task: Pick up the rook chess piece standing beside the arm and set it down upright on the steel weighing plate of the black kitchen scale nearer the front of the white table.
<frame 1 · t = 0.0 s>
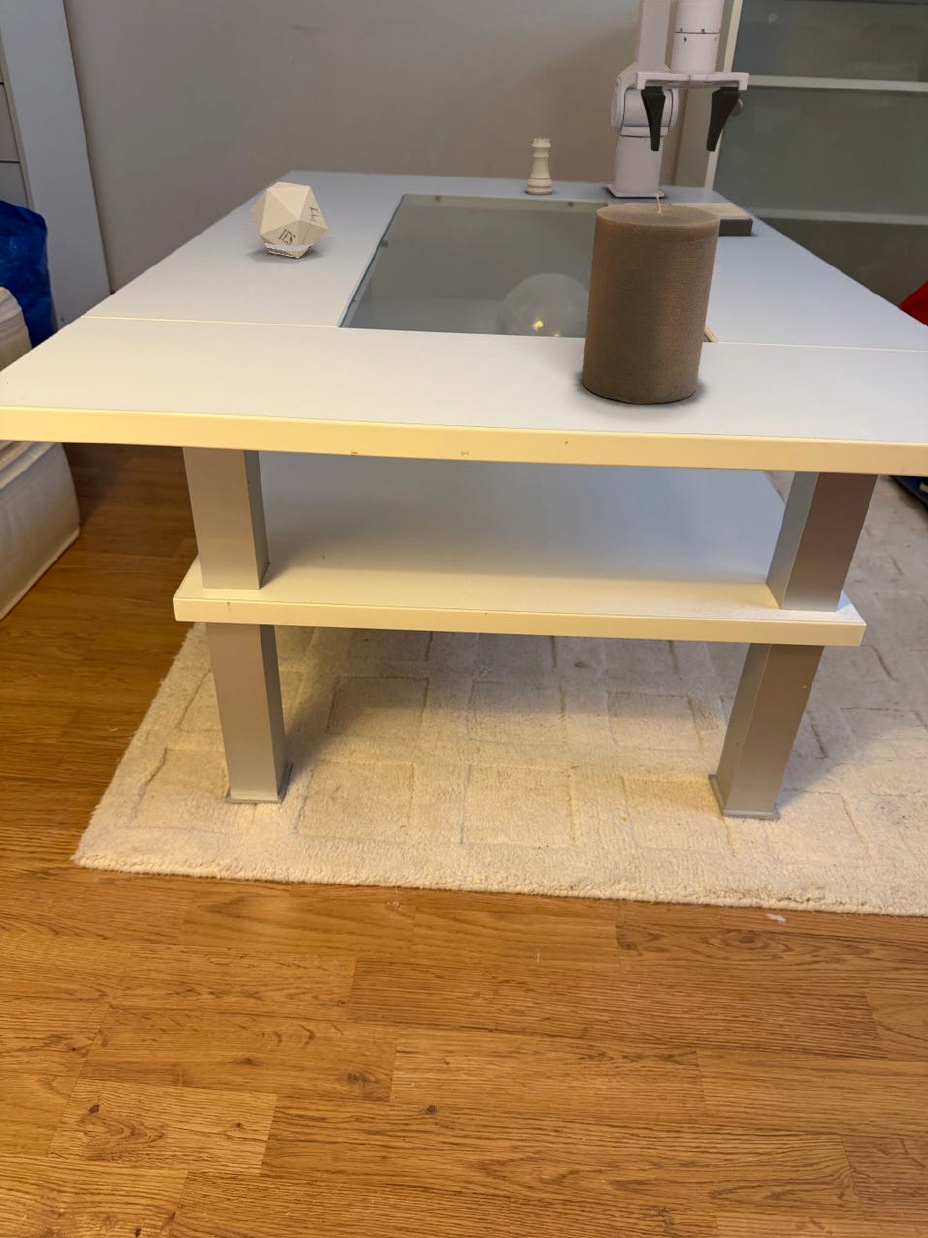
hand: (682, 150, 129), 10 cm above the table, tool pointing down, fingers open, 7 cm apart
scale: (706, 227, 135), on the table
die: (291, 255, 120), on the table
pillar candle: (638, 386, 81), on the table
rook chess piece: (539, 193, 158), on the table
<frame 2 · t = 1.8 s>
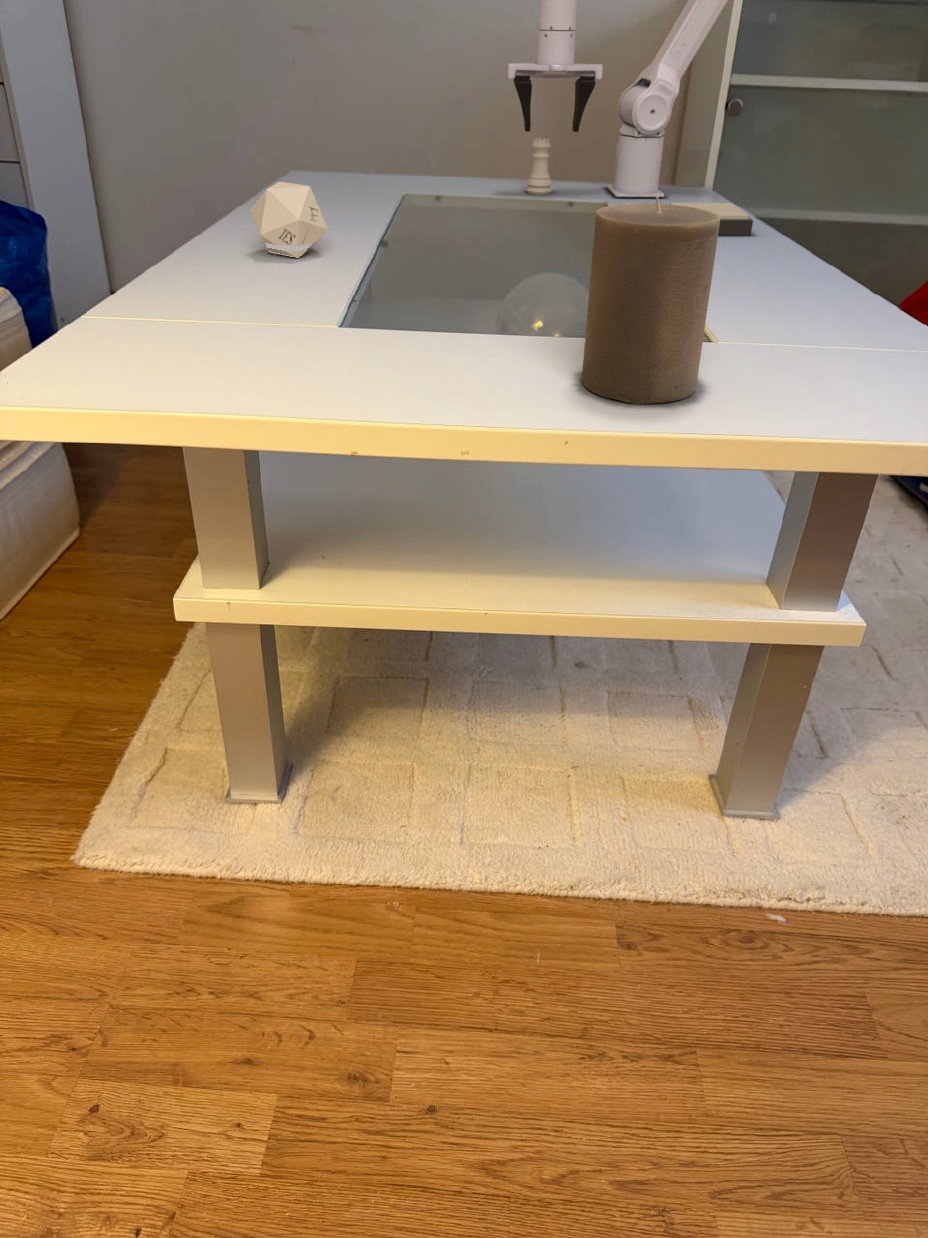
hand: (551, 130, 151), 9 cm above the table, tool pointing down, fingers open, 7 cm apart
nothing on the table moved.
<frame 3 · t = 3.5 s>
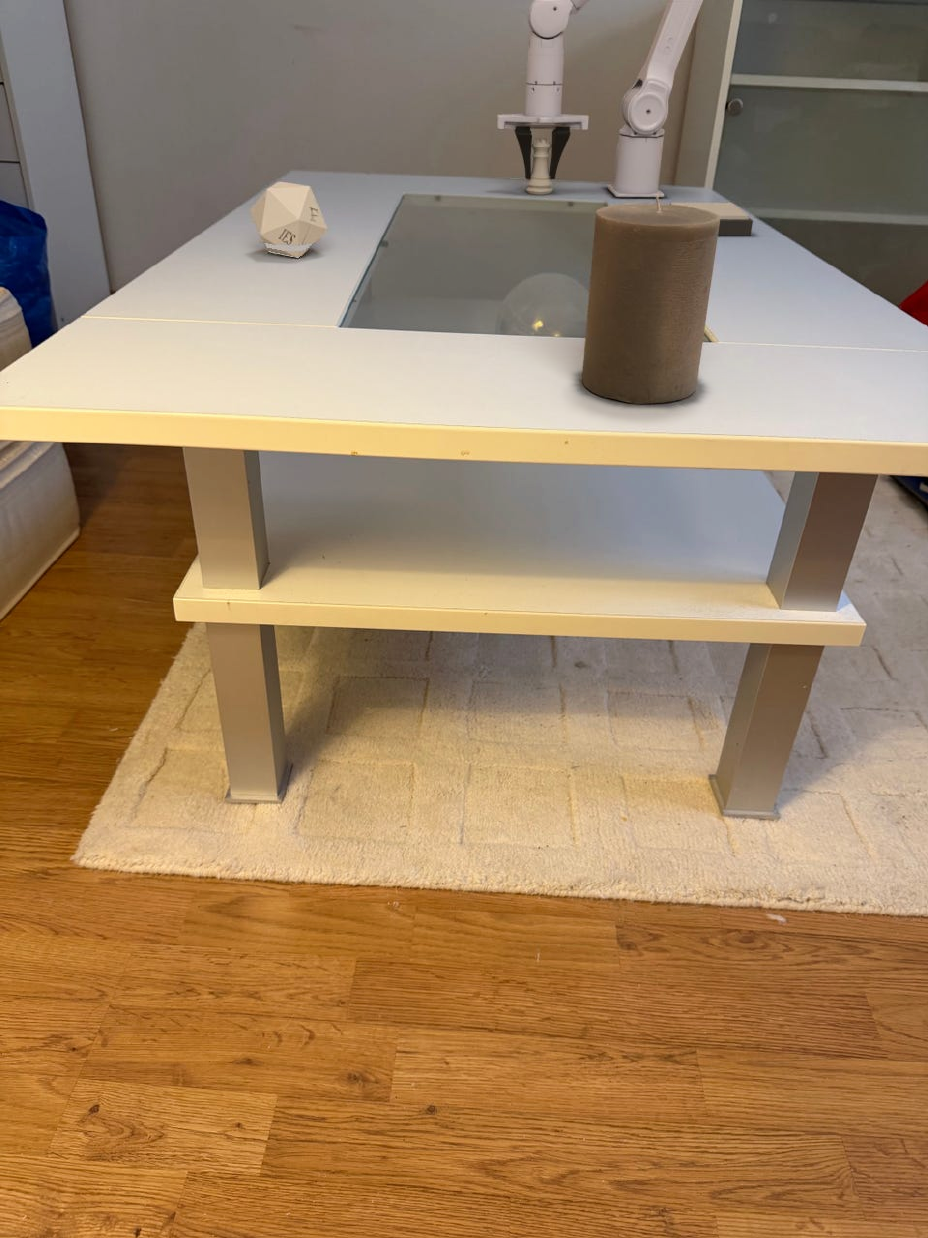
hand: (539, 177, 157), 2 cm above the table, tool pointing down, fingers closed on rook chess piece, 3 cm apart
rook chess piece: (539, 193, 158), on the table, touching gripper
everything else where it was.
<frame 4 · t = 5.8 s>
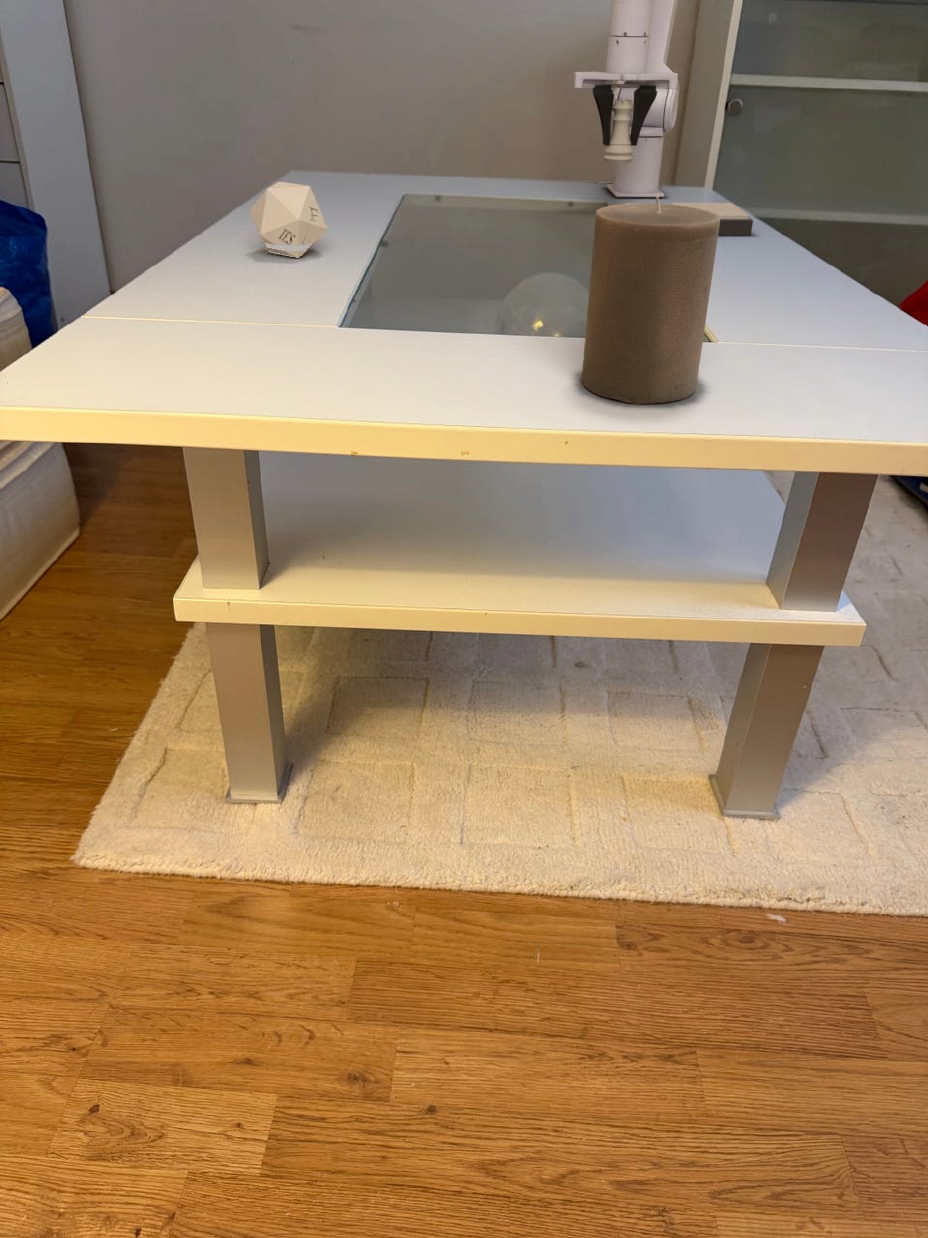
hand: (619, 144, 140), 9 cm above the table, tool pointing down, fingers closed on rook chess piece, 3 cm apart
rook chess piece: (617, 162, 141), point 7 cm above the table, touching gripper
everything else where it was.
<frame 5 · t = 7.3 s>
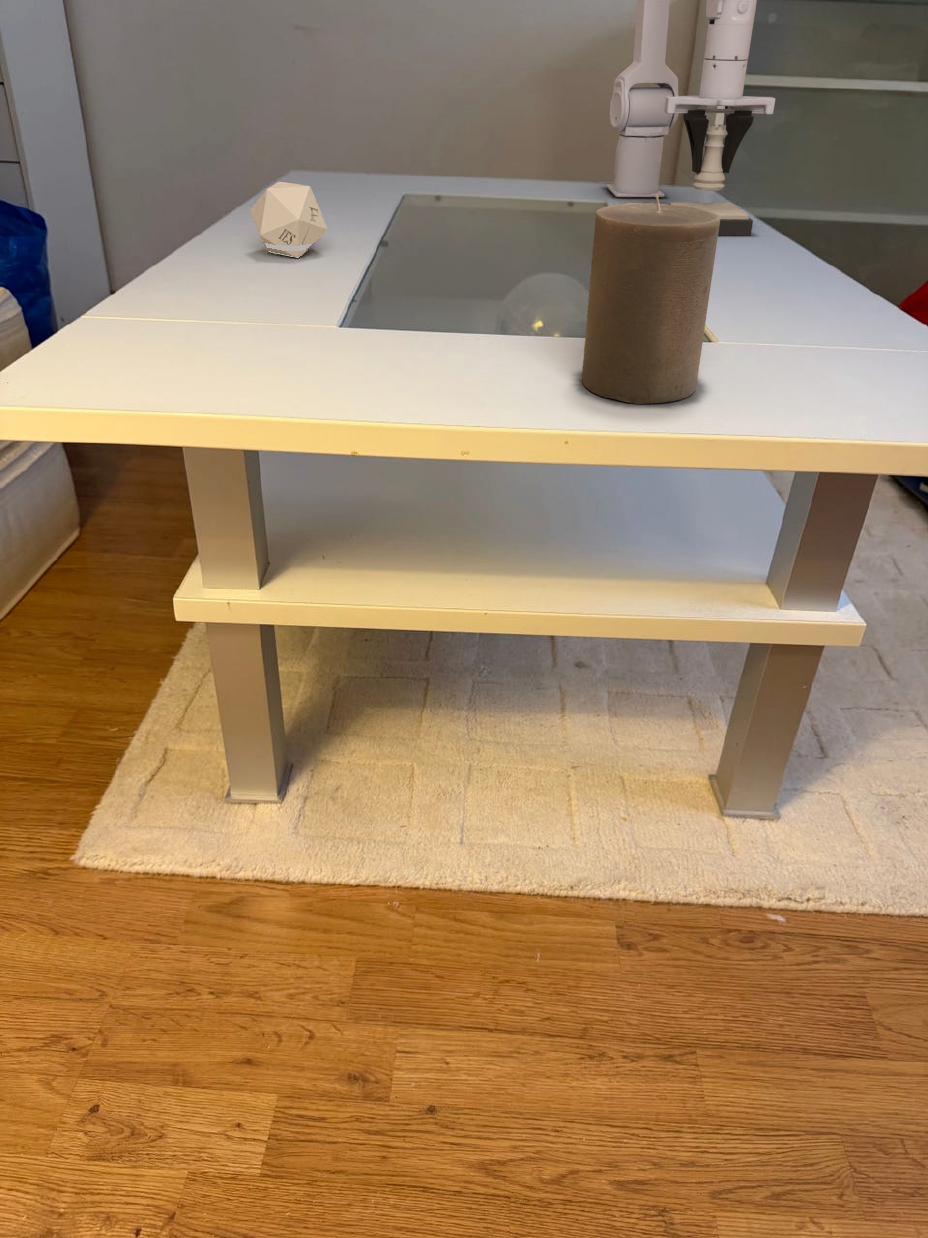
hand: (710, 171, 133), 7 cm above the table, tool pointing down, fingers closed on rook chess piece, 3 cm apart
rook chess piece: (707, 190, 134), point 5 cm above the table, touching gripper
everything else where it was.
when the fingers open (5 cm above the table, at t = 8.3 s): rook chess piece stays where it is, resting on scale.
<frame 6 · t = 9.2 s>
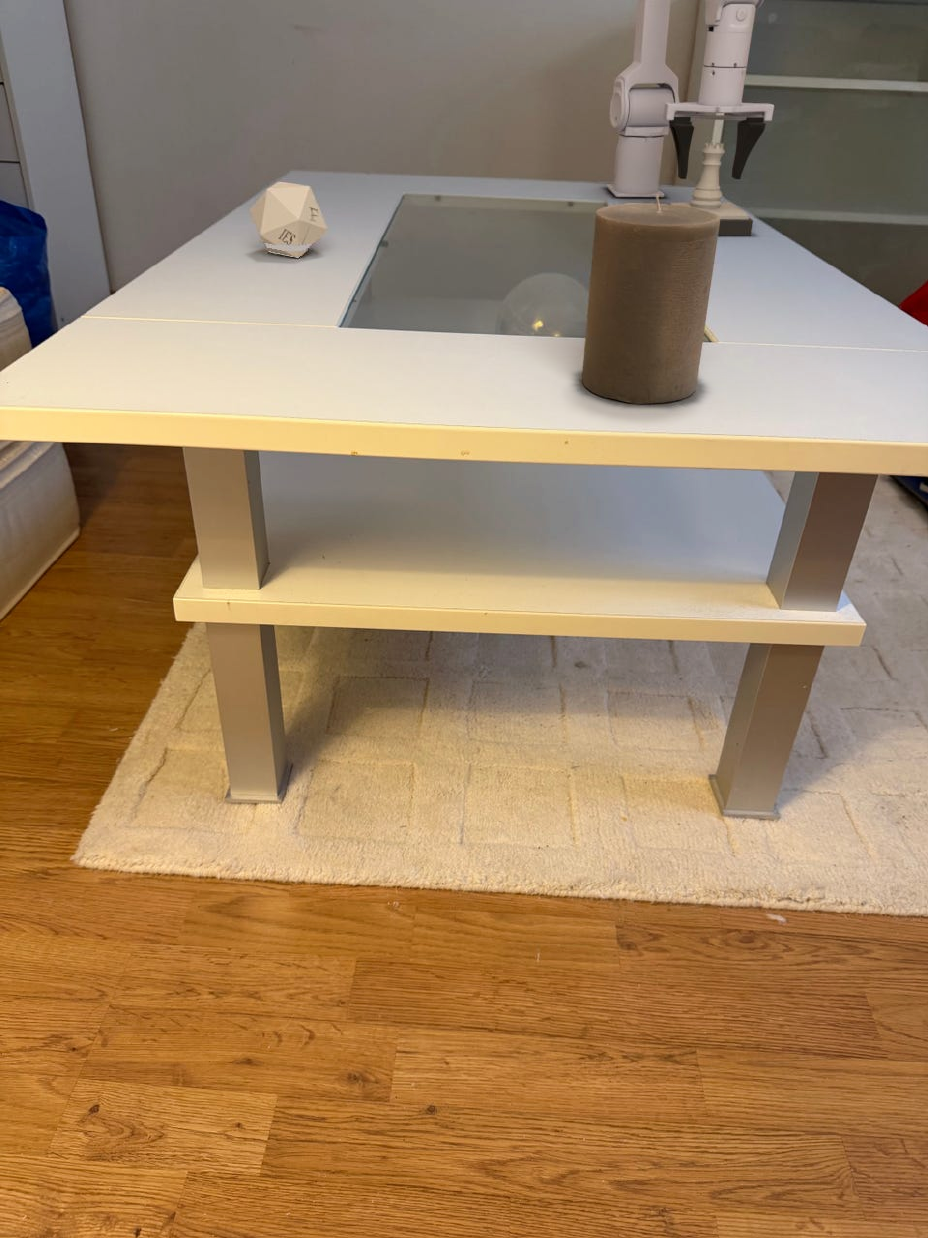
hand: (709, 177, 134), 6 cm above the table, tool pointing down, fingers open, 7 cm apart
rook chess piece: (705, 207, 136), point 2 cm above the table, touching scale
everything else where it was.
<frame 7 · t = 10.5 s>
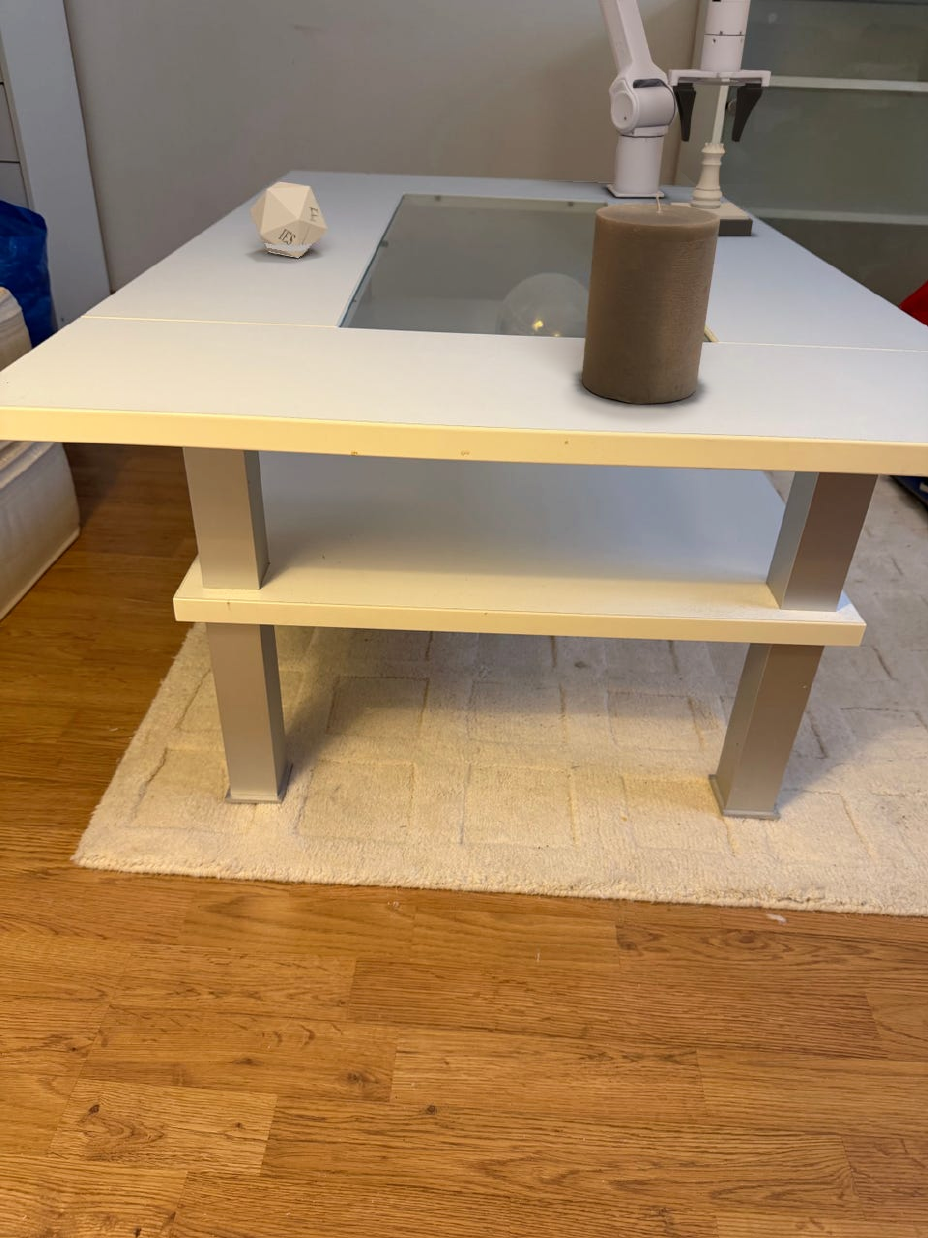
hand: (710, 140, 143), 9 cm above the table, tool pointing down, fingers open, 7 cm apart
nothing on the table moved.
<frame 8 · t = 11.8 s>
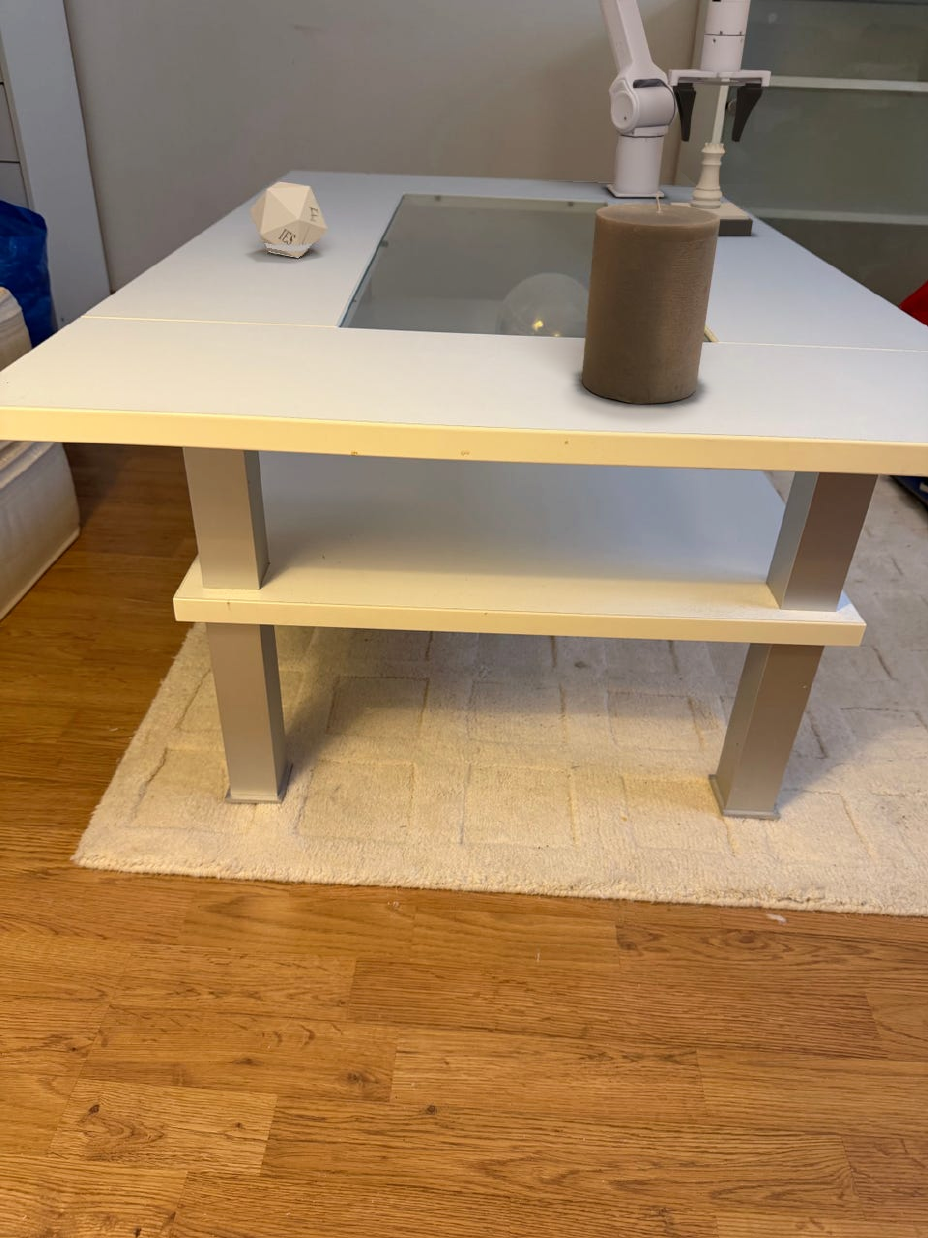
hand: (710, 140, 143), 9 cm above the table, tool pointing down, fingers open, 7 cm apart
nothing on the table moved.
at the end: rook chess piece inside the target area on the scale (1.9 cm from its centre), point 2.4 cm above the scale's base; rook chess piece tilted 0°; the gripper is holding nothing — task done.
